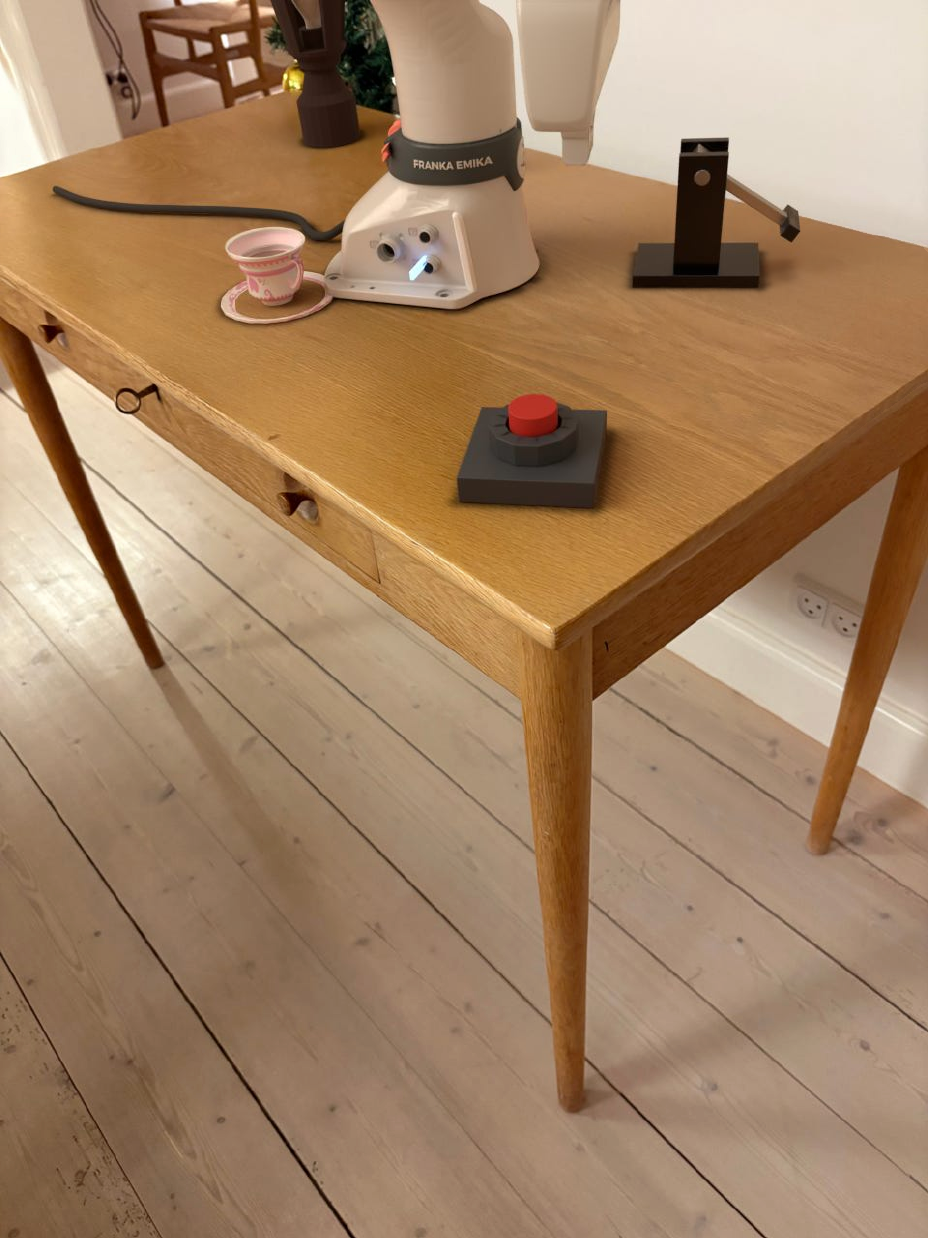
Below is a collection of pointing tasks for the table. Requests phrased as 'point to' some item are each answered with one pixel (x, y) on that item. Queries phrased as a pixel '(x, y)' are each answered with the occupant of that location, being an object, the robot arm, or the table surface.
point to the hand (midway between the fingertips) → (577, 158)
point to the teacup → (269, 270)
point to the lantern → (319, 69)
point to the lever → (764, 206)
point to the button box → (534, 461)
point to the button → (533, 415)
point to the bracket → (699, 230)
